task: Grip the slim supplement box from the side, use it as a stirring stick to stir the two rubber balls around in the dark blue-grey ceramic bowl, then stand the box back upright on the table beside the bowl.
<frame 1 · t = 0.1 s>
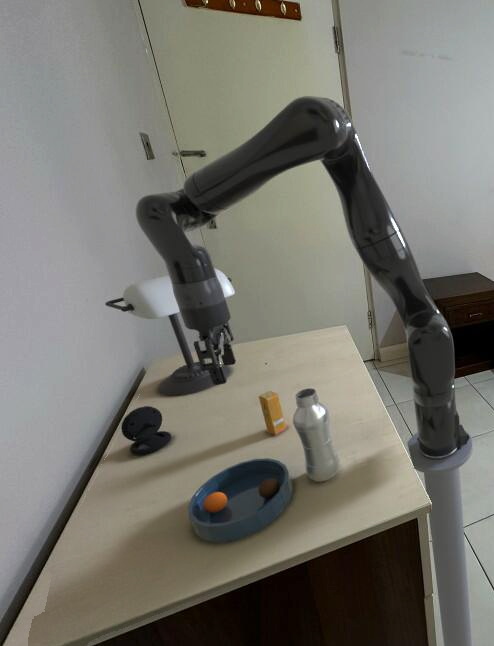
hand: (225, 373, 83), 20 cm above the table, tool pointing down, fingers open, 8 cm apart
supplement box: (277, 430, 97), on the table
orange ball: (215, 502, 74), point 2 cm above the table, touching bowl
lamp: (202, 382, 119), on the table
brown ball: (269, 488, 77), point 2 cm above the table, touching bowl
bowl: (246, 504, 76), on the table
silver bottle: (325, 474, 83), on the table
webcam: (152, 445, 93), on the table
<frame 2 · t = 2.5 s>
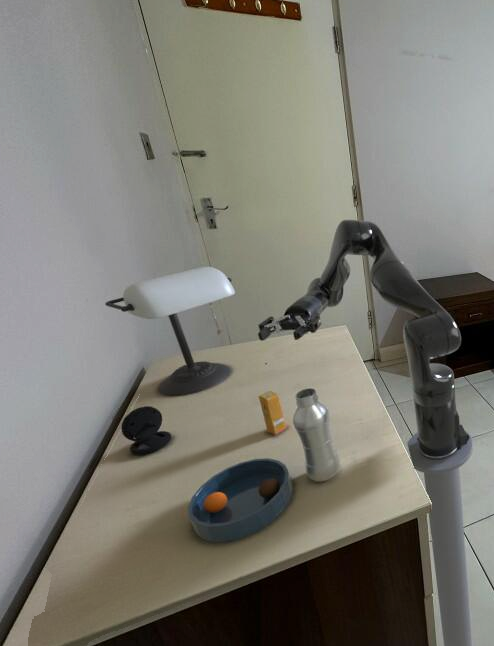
hand: (278, 336, 99), 20 cm above the table, tool horizontal, fingers open, 8 cm apart
nothing on the table moved.
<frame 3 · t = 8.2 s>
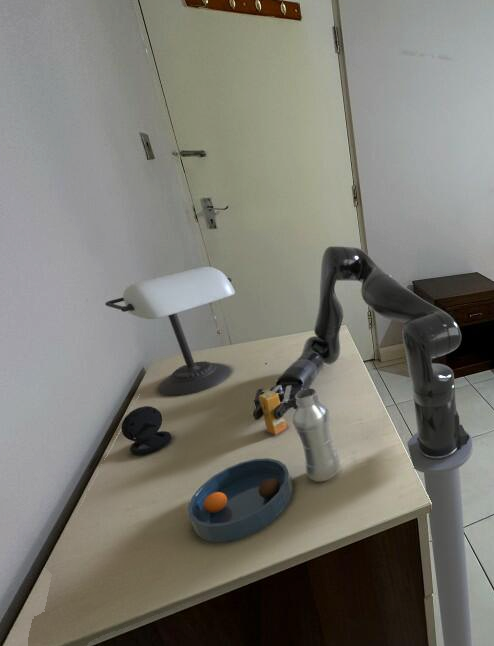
hand: (265, 416, 92), 6 cm above the table, tool horizontal, fingers closed on supplement box, 4 cm apart
supplement box: (277, 430, 97), on the table, touching gripper
everything else where it was.
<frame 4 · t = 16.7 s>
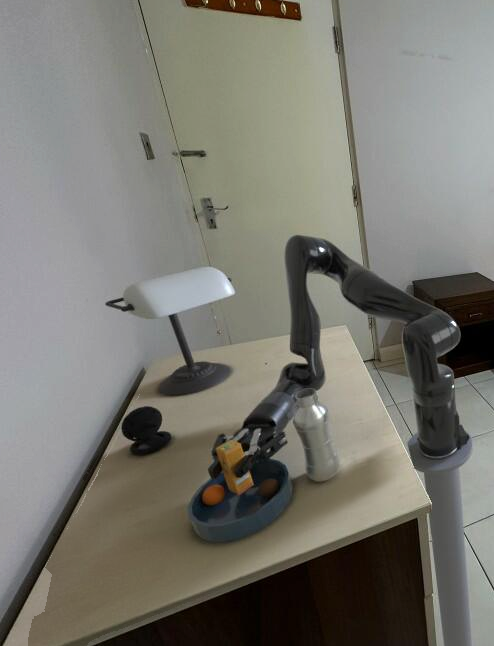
hand: (224, 474, 72), 9 cm above the table, tool horizontal, fingers closed on supplement box, 4 cm apart
supplement box: (242, 487, 77), point 2 cm above the table, touching gripper
orange ball: (213, 495, 76), point 2 cm above the table, tilted 71°, touching bowl
everything else where it was.
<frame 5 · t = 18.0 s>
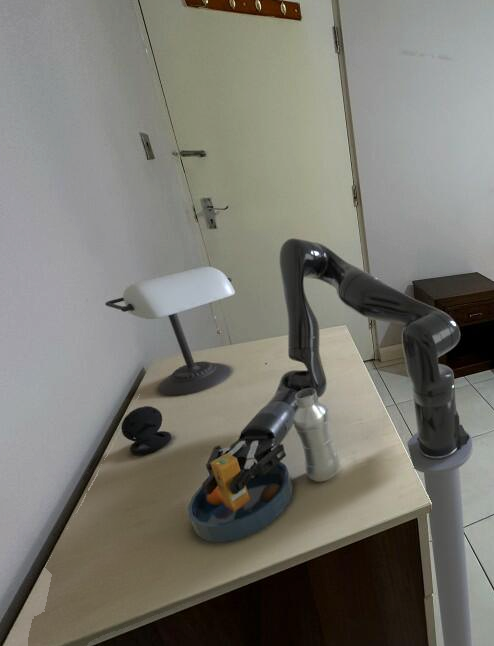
hand: (219, 490, 69), 9 cm above the table, tool horizontal, fingers closed on supplement box, 4 cm apart
supplement box: (238, 503, 74), point 2 cm above the table, touching gripper
orange ball: (218, 494, 76), point 2 cm above the table, tilted 55°, touching bowl
brown ball: (272, 494, 75), point 2 cm above the table, tilted 61°, touching bowl
everything else where it was.
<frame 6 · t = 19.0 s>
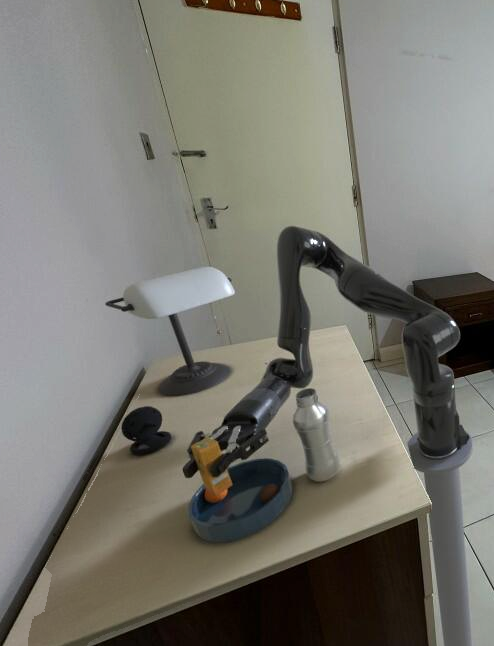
hand: (200, 473, 68), 12 cm above the table, tool horizontal, fingers closed on supplement box, 4 cm apart
supplement box: (220, 488, 73), point 5 cm above the table, touching gripper
orange ball: (216, 492, 76), point 2 cm above the table, tilted 83°, touching bowl
brown ball: (270, 494, 75), point 2 cm above the table, tilted 52°, touching bowl
everything else where it was.
when the fingers open (6 cm above the table, at t = 25.4 s): supplement box stays where it is, on the table.
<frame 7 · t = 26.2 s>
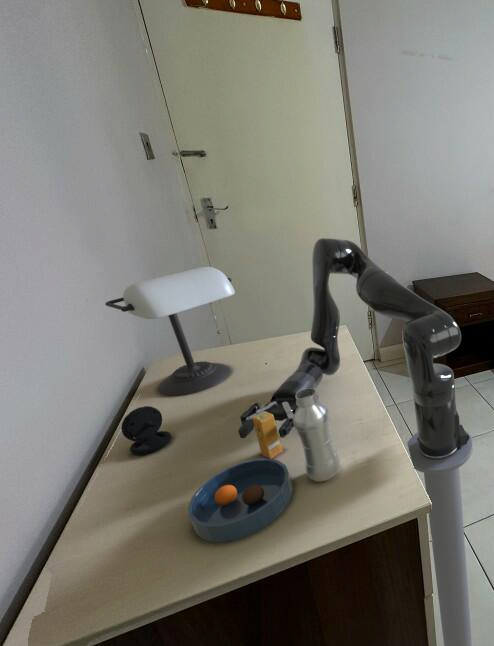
hand: (261, 434, 85), 7 cm above the table, tool horizontal, fingers open, 8 cm apart
supplement box: (273, 453, 90), on the table
orange ball: (225, 495, 75), point 2 cm above the table, tilted 38°, touching bowl
brown ball: (253, 495, 75), point 2 cm above the table, tilted 69°, touching bowl
everything else where it was.
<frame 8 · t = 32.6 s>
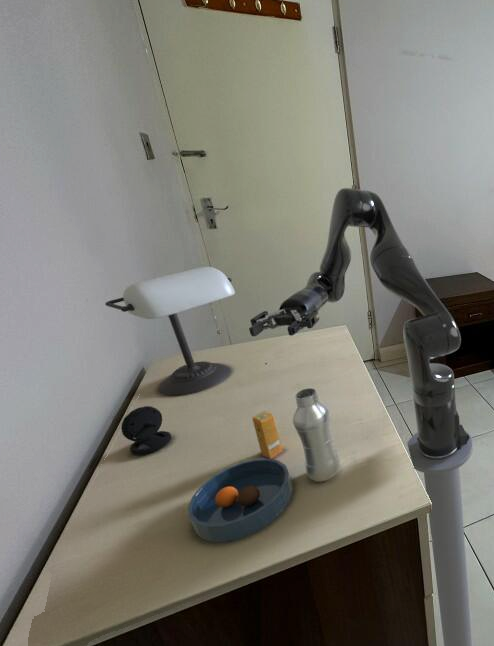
hand: (271, 332, 90), 25 cm above the table, tool horizontal, fingers open, 8 cm apart
orange ball: (226, 496, 75), point 2 cm above the table, tilted 31°, touching bowl
brown ball: (248, 496, 75), point 2 cm above the table, tilted 91°, touching bowl
everything else where it was.
at the end: orange ball moved 1.9 cm from its start; supplement box inside the target area (0.2 cm from its centre), on the table; supplement box tilted 0° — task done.
